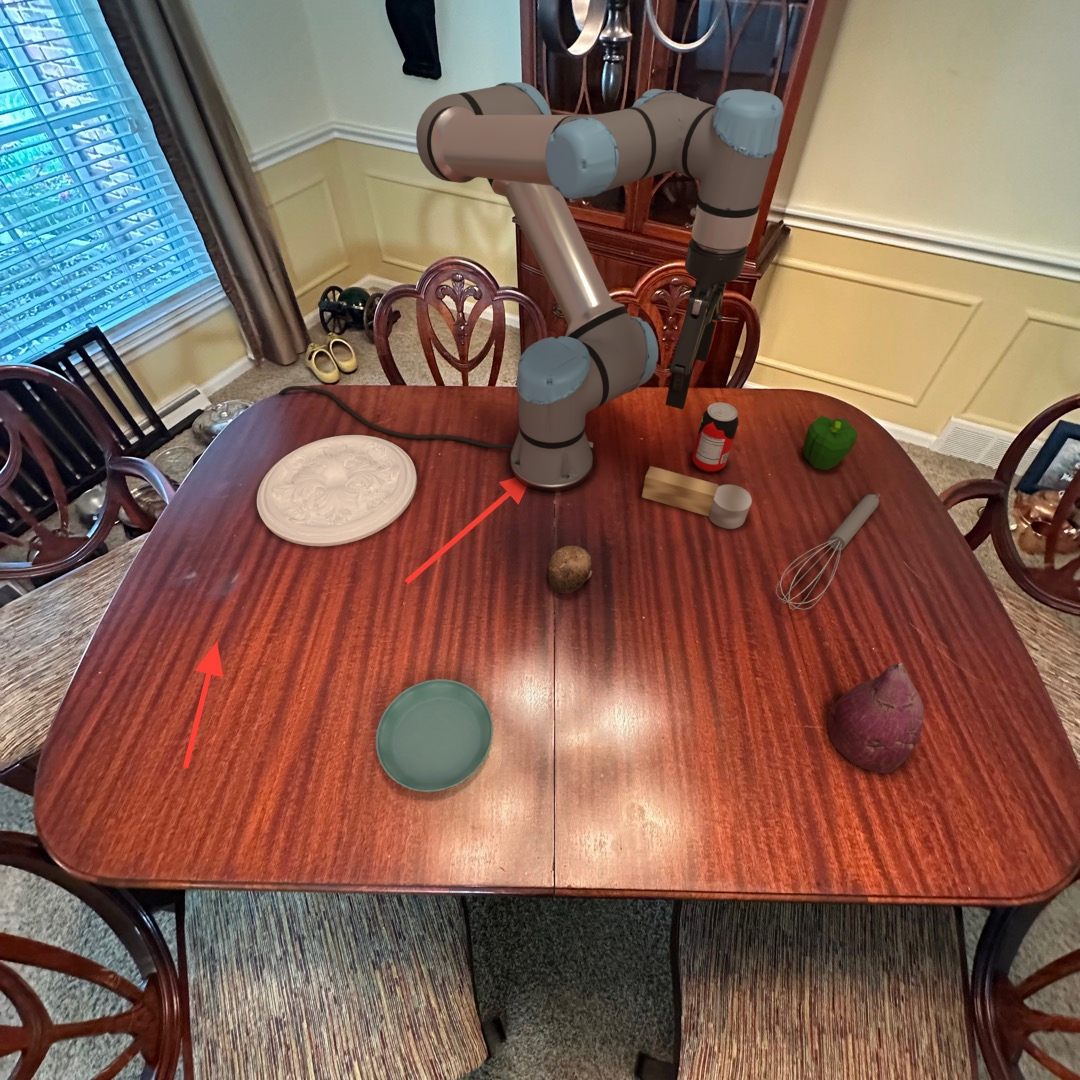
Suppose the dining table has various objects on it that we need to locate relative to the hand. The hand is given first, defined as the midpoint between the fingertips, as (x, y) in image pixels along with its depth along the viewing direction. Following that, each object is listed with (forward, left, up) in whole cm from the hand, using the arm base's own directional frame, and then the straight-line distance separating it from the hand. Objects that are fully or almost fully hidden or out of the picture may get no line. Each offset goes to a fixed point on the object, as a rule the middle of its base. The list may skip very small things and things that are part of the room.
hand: (686, 381), depth 93 cm
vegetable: (+37, -36, -22) cm, 56 cm away
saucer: (-14, -59, -22) cm, 64 cm away
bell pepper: (+25, +17, -22) cm, 37 cm away
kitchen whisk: (+29, -6, -22) cm, 37 cm away
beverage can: (+6, +8, -22) cm, 24 cm away
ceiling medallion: (-54, -25, -22) cm, 63 cm away
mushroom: (-8, -28, -22) cm, 36 cm away
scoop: (+6, -4, -22) cm, 23 cm away
